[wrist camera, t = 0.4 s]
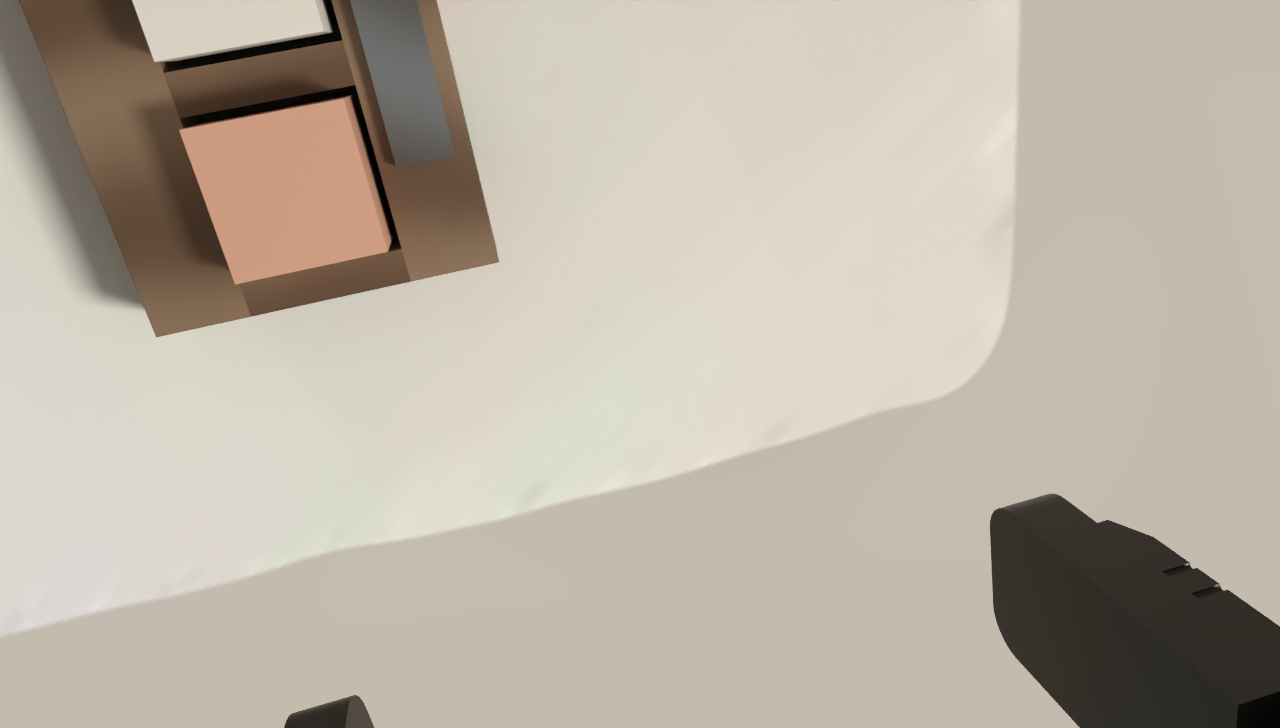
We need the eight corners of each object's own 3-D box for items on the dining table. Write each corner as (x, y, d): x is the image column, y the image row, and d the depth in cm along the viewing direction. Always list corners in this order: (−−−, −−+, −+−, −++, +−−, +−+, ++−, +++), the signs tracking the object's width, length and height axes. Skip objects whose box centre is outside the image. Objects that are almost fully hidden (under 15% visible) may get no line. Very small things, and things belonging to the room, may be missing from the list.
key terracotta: (200, 123, 29) (179, 129, 27) (351, 94, 29) (343, 98, 27) (250, 267, 31) (235, 284, 28) (392, 237, 31) (387, 251, 29)
